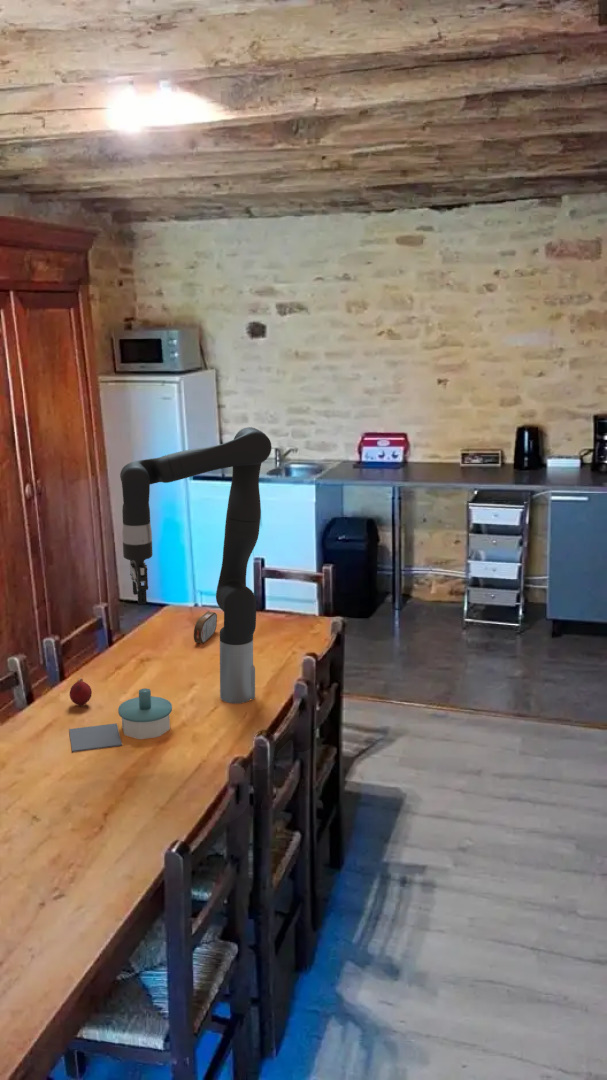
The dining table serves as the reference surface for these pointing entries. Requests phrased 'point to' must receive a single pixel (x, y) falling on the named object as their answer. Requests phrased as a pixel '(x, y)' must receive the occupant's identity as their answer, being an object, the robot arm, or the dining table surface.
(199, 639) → the tin
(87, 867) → the dining table surface
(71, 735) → the mat
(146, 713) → the lid
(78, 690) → the onion
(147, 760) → the dining table surface
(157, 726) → the bowl
